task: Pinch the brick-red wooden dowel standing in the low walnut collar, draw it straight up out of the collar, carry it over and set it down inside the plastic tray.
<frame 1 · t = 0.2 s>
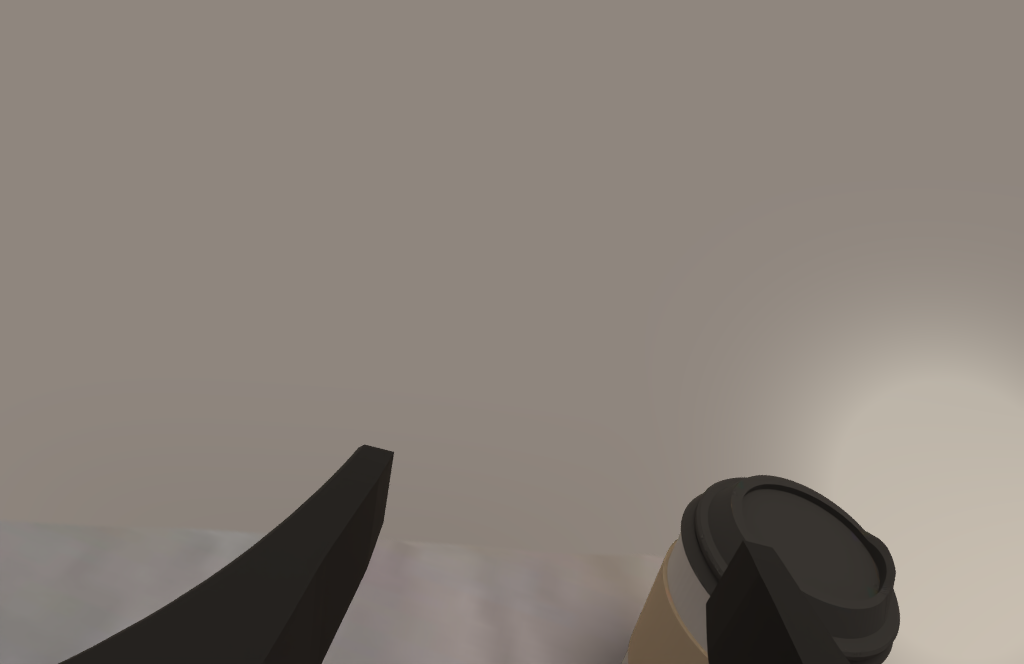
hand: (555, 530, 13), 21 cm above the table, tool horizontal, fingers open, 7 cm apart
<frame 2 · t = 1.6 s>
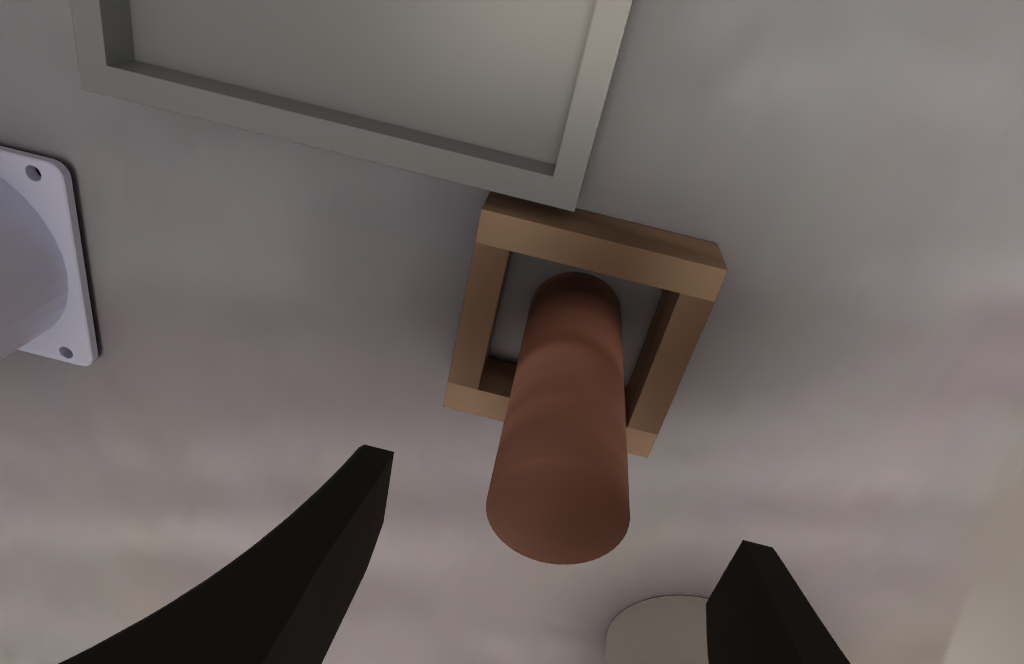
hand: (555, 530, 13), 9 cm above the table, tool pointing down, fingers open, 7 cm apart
coffee cup: (682, 641, 29), on the table
collar: (575, 314, 21), on the table
dowel: (575, 313, 21), resting in collar
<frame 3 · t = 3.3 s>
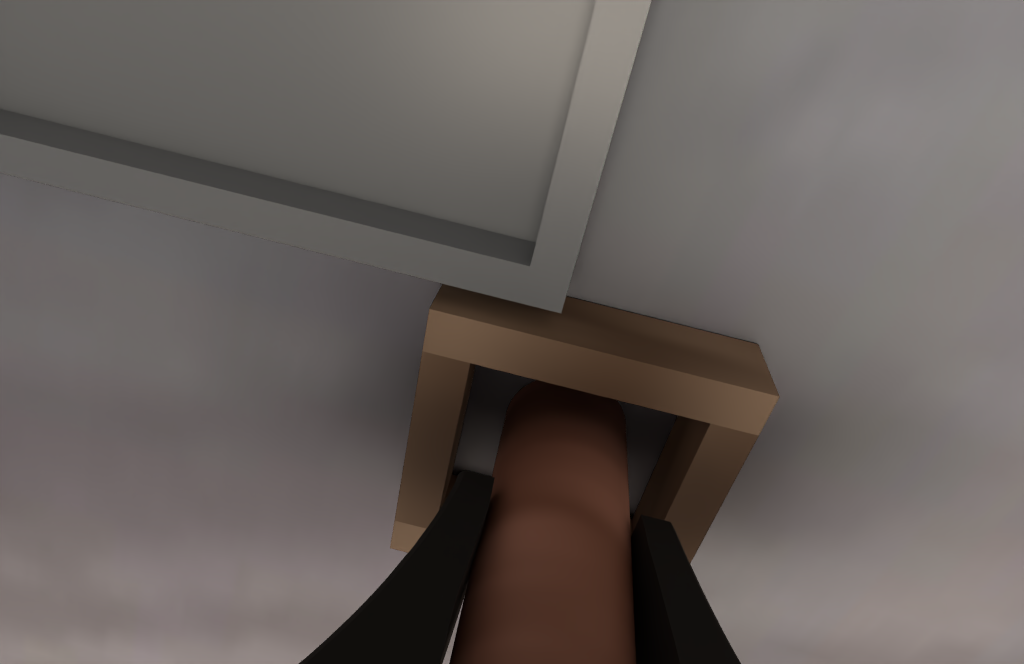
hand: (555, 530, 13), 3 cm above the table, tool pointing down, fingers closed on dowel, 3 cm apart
collar: (565, 426, 16), on the table
dowel: (565, 425, 16), resting in collar, touching gripper
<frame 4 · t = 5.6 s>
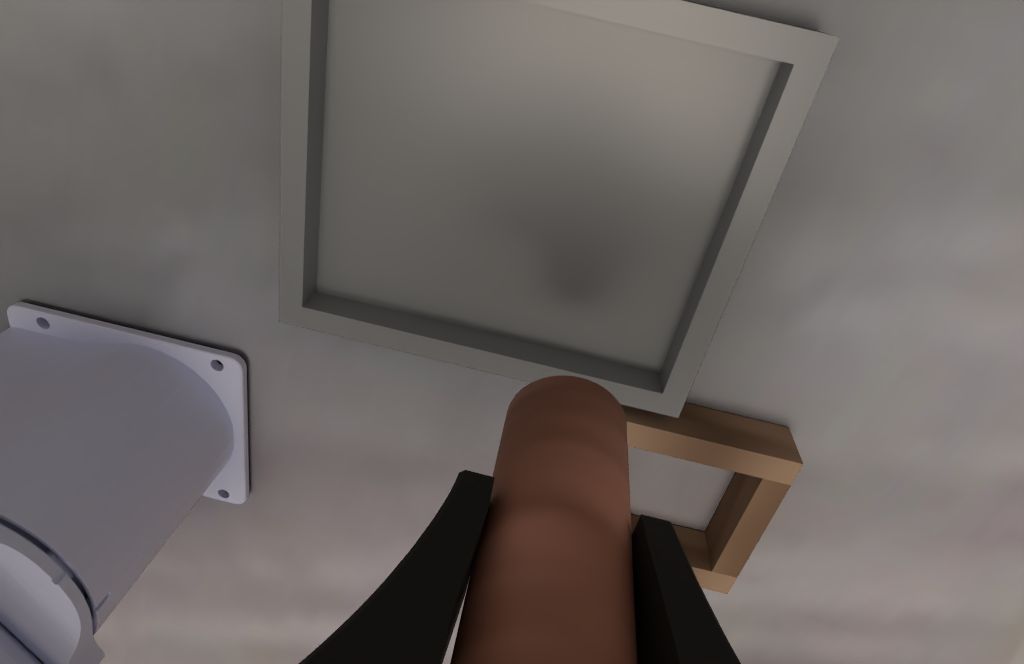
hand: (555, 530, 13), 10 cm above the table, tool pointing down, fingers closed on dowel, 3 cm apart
tray: (519, 185, 20), on the table
collar: (665, 474, 25), on the table
dowel: (565, 425, 16), point 7 cm above the table, touching gripper
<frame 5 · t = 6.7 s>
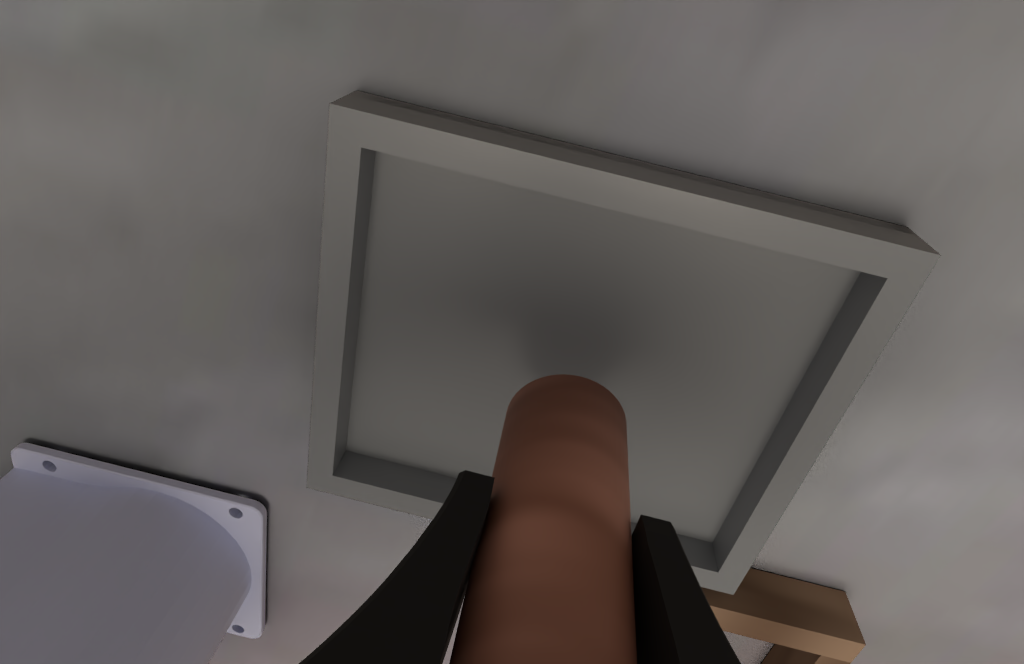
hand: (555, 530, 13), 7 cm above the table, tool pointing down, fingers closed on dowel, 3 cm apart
tray: (570, 357, 19), on the table
collar: (709, 627, 24), on the table
dowel: (565, 424, 16), point 3 cm above the table, touching gripper
when the fingers open (5 cm above the table, at t = 7.8 s): dowel stays where it is, resting on tray.
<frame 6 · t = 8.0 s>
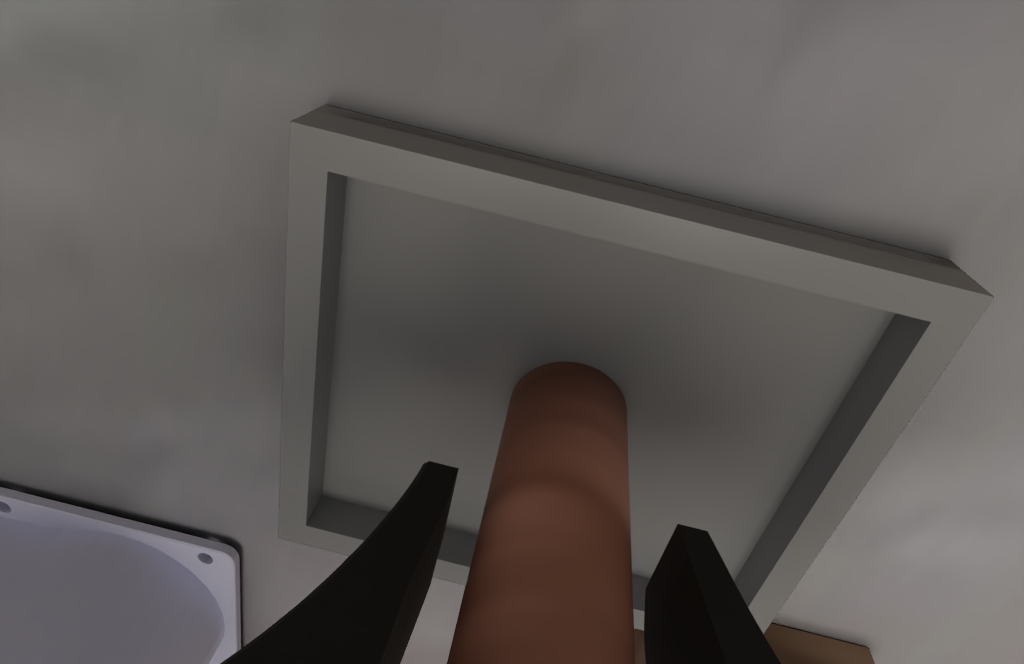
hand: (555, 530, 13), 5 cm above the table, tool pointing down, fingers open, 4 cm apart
tray: (567, 398, 17), on the table
dowel: (567, 411, 16), point 1 cm above the table, touching tray
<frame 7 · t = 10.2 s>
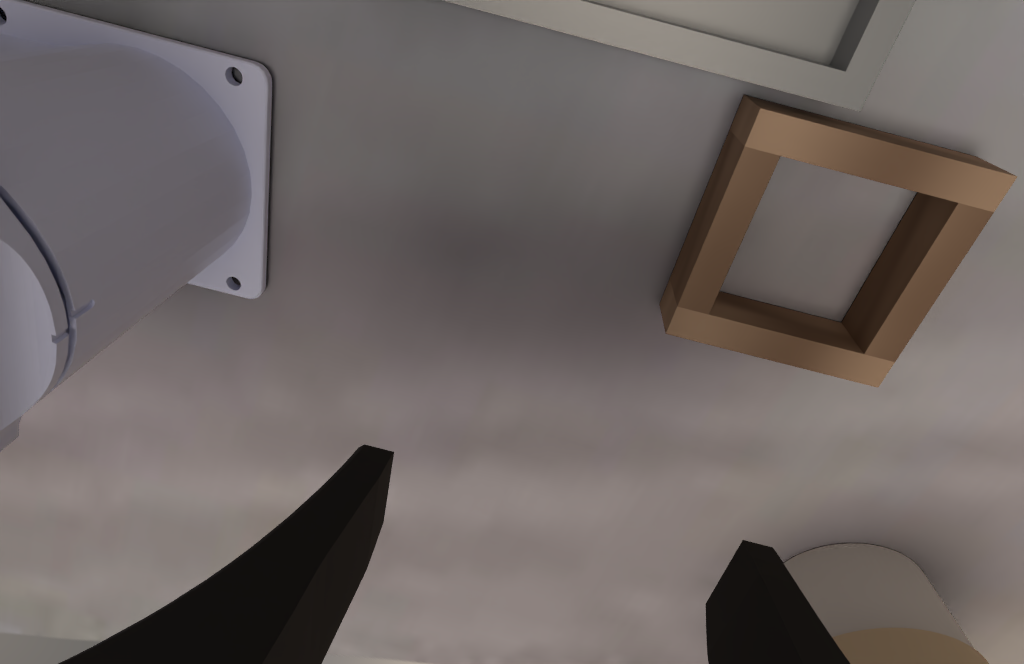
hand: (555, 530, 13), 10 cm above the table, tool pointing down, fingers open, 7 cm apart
coffee cup: (841, 593, 28), on the table
collar: (804, 236, 20), on the table
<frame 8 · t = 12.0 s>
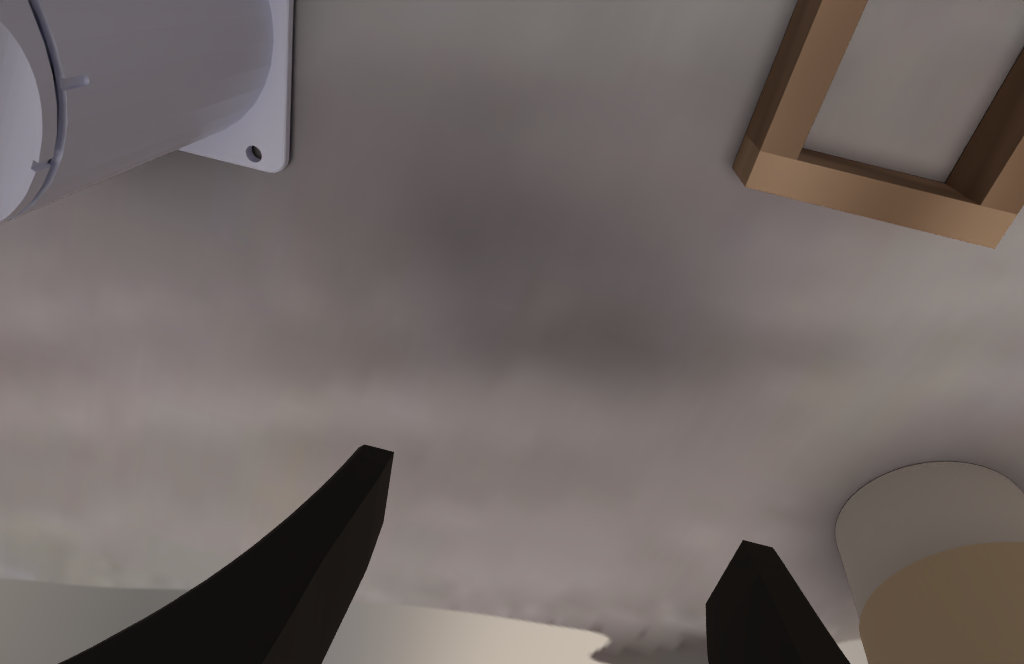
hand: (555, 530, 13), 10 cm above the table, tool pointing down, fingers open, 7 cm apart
coffee cup: (926, 523, 25), on the table
collar: (906, 73, 17), on the table
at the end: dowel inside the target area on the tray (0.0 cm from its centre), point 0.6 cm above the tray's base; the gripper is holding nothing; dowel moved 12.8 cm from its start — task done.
